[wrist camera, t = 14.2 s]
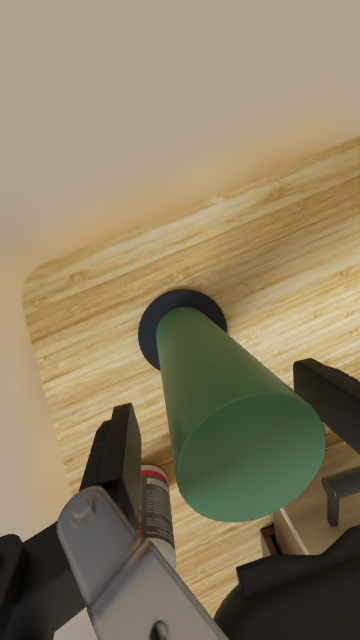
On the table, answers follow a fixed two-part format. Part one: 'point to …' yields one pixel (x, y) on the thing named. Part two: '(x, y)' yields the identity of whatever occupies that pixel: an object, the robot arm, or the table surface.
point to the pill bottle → (156, 512)
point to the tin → (232, 423)
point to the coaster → (167, 304)
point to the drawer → (322, 506)
